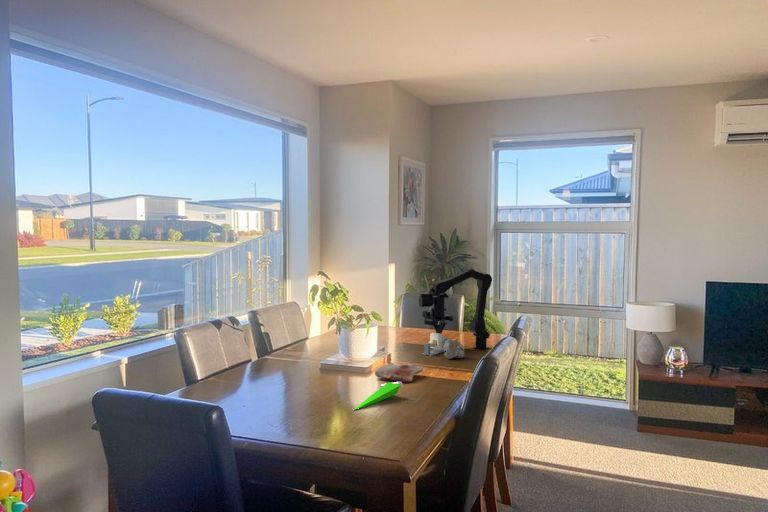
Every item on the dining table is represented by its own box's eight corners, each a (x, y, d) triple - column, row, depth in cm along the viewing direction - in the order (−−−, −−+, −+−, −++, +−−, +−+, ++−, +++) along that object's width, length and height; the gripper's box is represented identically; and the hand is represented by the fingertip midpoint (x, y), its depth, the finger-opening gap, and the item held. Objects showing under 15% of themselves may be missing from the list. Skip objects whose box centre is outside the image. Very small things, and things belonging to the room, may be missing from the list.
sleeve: (433, 346, 290) (433, 332, 290) (441, 348, 287) (441, 333, 286) (430, 347, 288) (430, 333, 287) (438, 349, 285) (438, 334, 284)
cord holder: (441, 347, 297) (441, 335, 297) (451, 349, 294) (451, 336, 293) (421, 354, 282) (421, 341, 282) (431, 356, 279) (431, 342, 278)
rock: (465, 364, 275) (465, 346, 281) (461, 353, 266) (461, 334, 272) (447, 365, 277) (447, 347, 283) (442, 354, 268) (442, 335, 274)
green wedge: (364, 421, 194) (406, 392, 213) (359, 406, 194) (401, 379, 213) (342, 423, 201) (384, 395, 220) (337, 409, 201) (379, 382, 220)
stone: (419, 390, 231) (421, 377, 246) (421, 376, 230) (424, 363, 245) (372, 382, 233) (377, 369, 248) (374, 367, 232) (379, 355, 247)
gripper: (435, 302, 300) (435, 331, 301) (415, 306, 286) (415, 337, 287) (453, 304, 294) (453, 334, 295) (434, 309, 279) (433, 340, 280)
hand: (438, 336), depth 289 cm, fingers closed
